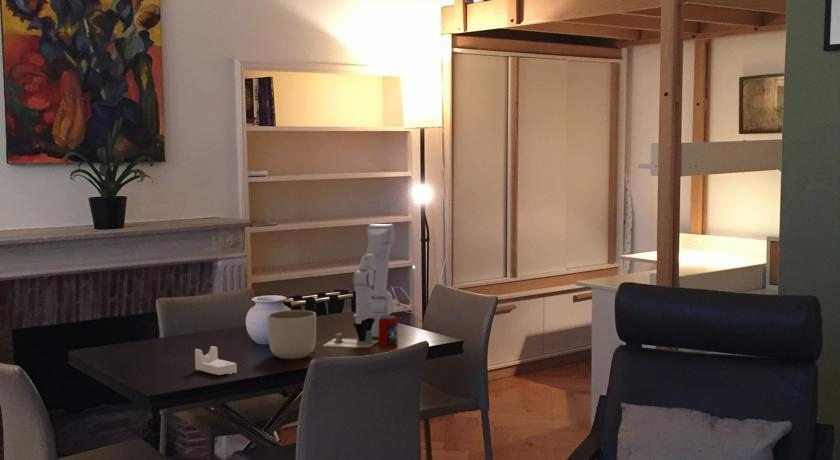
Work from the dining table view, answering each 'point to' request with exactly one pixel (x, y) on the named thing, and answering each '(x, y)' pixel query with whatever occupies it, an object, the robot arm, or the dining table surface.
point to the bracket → (213, 363)
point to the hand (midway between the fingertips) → (364, 339)
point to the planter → (292, 333)
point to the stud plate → (347, 342)
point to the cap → (368, 338)
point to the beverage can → (388, 332)
